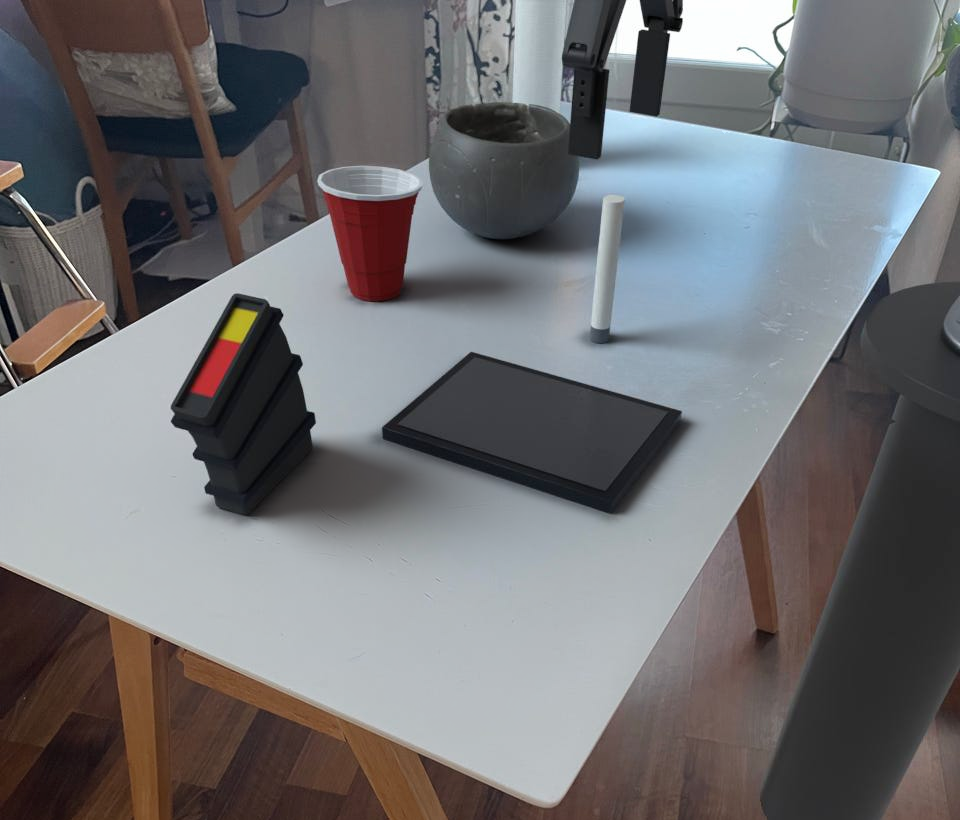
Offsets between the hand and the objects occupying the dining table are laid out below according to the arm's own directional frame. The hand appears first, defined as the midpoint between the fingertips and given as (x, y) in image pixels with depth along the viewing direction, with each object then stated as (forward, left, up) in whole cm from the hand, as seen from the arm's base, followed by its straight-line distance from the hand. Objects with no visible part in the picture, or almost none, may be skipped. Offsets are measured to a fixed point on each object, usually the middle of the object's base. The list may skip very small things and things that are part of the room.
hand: (615, 133), depth 85 cm
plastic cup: (+26, +1, -20) cm, 33 cm away
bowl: (+22, -21, -20) cm, 36 cm away
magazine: (+14, +37, -20) cm, 44 cm away
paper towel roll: (+30, -45, -20) cm, 57 cm away
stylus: (0, -1, -20) cm, 20 cm away
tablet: (-2, +18, -20) cm, 27 cm away
